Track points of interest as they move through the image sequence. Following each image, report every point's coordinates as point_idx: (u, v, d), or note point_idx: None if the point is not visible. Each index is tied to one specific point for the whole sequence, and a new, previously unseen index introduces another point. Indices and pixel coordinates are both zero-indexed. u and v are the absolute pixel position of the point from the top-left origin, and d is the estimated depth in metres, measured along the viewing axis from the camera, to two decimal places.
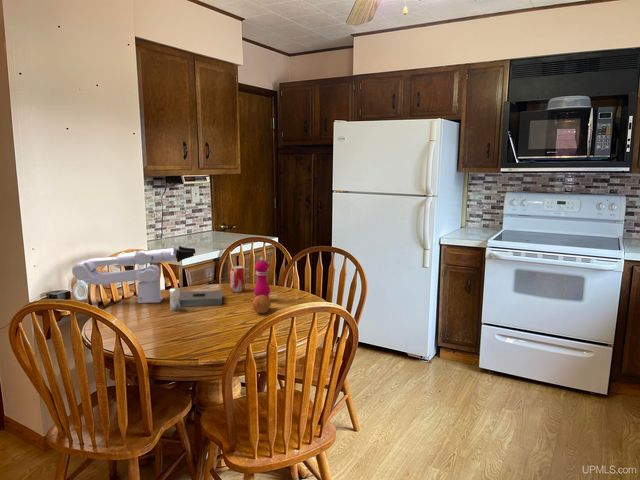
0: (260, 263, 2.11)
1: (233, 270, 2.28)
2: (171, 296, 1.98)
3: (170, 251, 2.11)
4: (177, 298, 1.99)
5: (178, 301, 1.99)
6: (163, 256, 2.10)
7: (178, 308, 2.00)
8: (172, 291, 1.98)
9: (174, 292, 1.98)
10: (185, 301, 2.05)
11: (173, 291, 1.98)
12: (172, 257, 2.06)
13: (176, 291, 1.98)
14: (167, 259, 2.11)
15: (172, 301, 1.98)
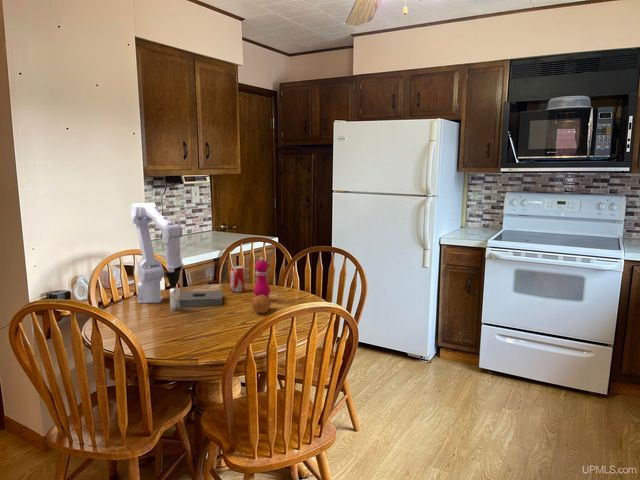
0: (260, 263, 2.11)
1: (233, 270, 2.28)
2: (171, 296, 1.98)
3: (177, 263, 1.96)
4: (177, 298, 1.99)
5: (178, 301, 1.99)
6: (172, 256, 1.95)
7: (178, 308, 2.00)
8: (172, 291, 1.98)
9: (174, 292, 1.98)
10: (185, 301, 2.05)
11: (173, 291, 1.98)
12: (170, 268, 1.91)
13: (176, 291, 1.98)
14: (168, 259, 1.95)
15: (172, 301, 1.98)
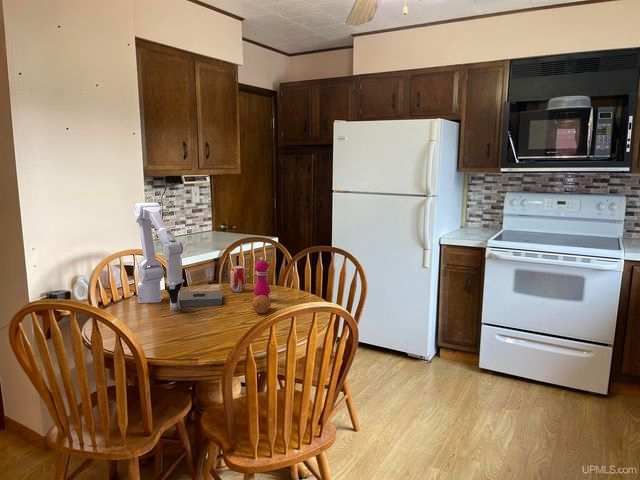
0: (260, 263, 2.11)
1: (233, 270, 2.28)
2: None
3: (178, 279, 1.97)
4: None
5: (178, 301, 1.99)
6: (173, 272, 1.96)
7: (178, 308, 2.00)
8: None
9: None
10: (185, 301, 2.05)
11: None
12: (171, 285, 1.92)
13: None
14: (169, 276, 1.96)
15: None
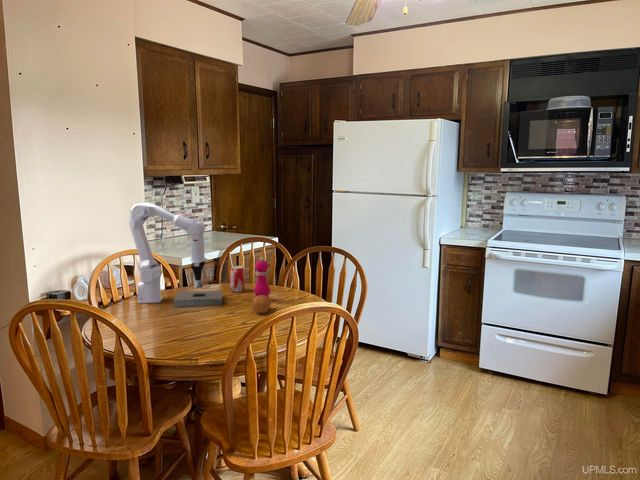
0: (260, 263, 2.11)
1: (233, 270, 2.28)
2: None
3: (201, 258, 2.08)
4: (201, 276, 2.10)
5: (201, 278, 2.11)
6: (197, 251, 2.07)
7: (201, 285, 2.11)
8: None
9: None
10: (185, 301, 2.05)
11: None
12: (196, 263, 2.03)
13: None
14: (193, 254, 2.07)
15: None
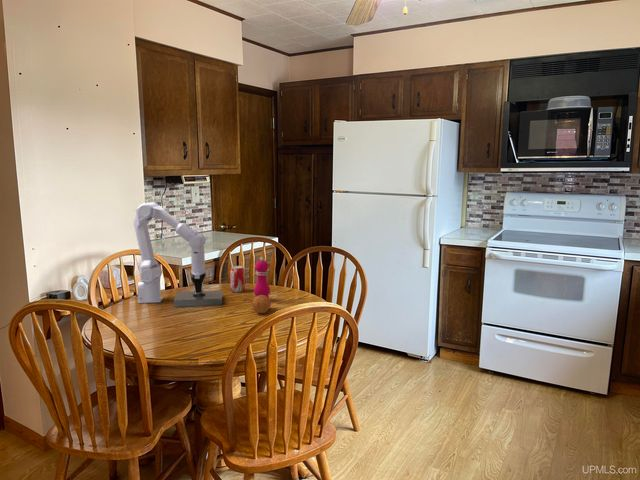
0: (260, 263, 2.11)
1: (233, 270, 2.28)
2: None
3: (202, 270, 2.09)
4: None
5: (202, 290, 2.12)
6: (197, 263, 2.08)
7: None
8: None
9: None
10: (185, 301, 2.05)
11: None
12: (196, 275, 2.04)
13: None
14: (194, 266, 2.08)
15: None
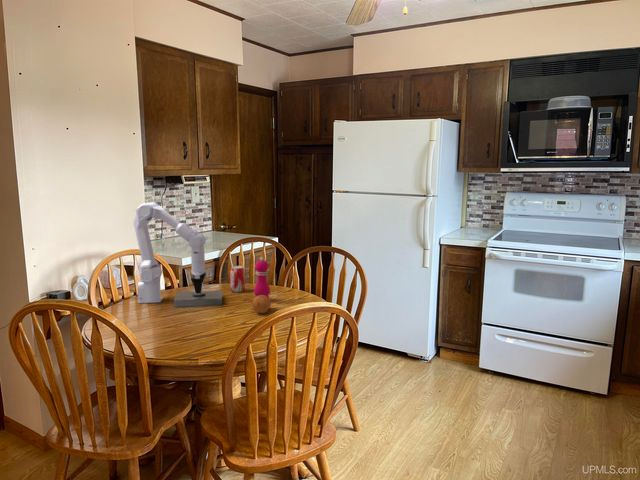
0: (260, 263, 2.11)
1: (233, 270, 2.28)
2: None
3: (202, 270, 2.09)
4: (201, 291, 2.11)
5: (202, 293, 2.12)
6: (197, 263, 2.08)
7: None
8: None
9: None
10: (185, 301, 2.05)
11: None
12: (196, 275, 2.04)
13: None
14: (194, 266, 2.08)
15: (197, 294, 2.11)
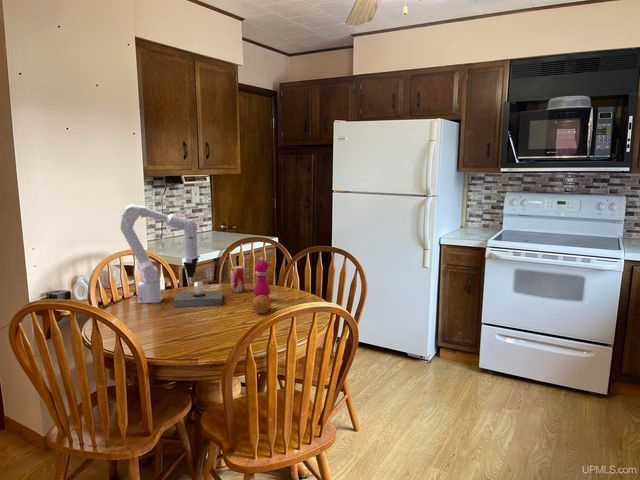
0: (260, 263, 2.11)
1: (233, 270, 2.28)
2: (196, 289, 2.10)
3: (194, 255, 2.16)
4: (201, 291, 2.11)
5: (202, 293, 2.12)
6: (190, 248, 2.14)
7: None
8: (197, 284, 2.10)
9: (199, 285, 2.10)
10: (185, 301, 2.05)
11: (198, 284, 2.10)
12: (188, 259, 2.11)
13: (200, 284, 2.11)
14: (186, 251, 2.15)
15: (197, 294, 2.11)
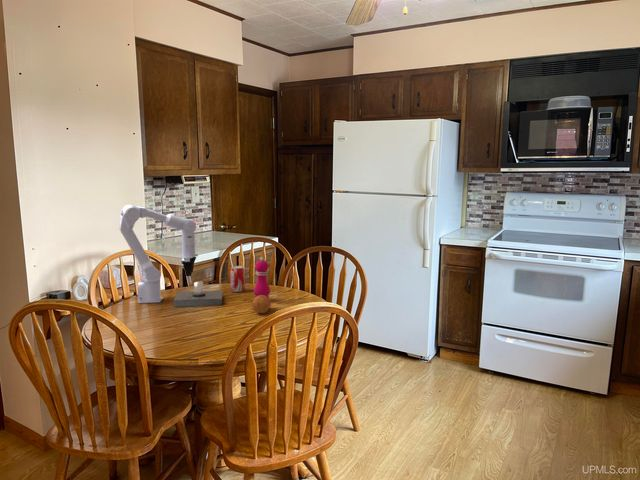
0: (260, 263, 2.11)
1: (233, 270, 2.28)
2: (196, 289, 2.10)
3: (192, 253, 2.18)
4: (201, 291, 2.11)
5: (202, 293, 2.12)
6: (188, 247, 2.17)
7: None
8: (197, 284, 2.10)
9: (199, 285, 2.10)
10: (185, 301, 2.05)
11: (198, 284, 2.10)
12: (187, 258, 2.13)
13: (200, 284, 2.10)
14: (184, 250, 2.17)
15: (197, 294, 2.11)
